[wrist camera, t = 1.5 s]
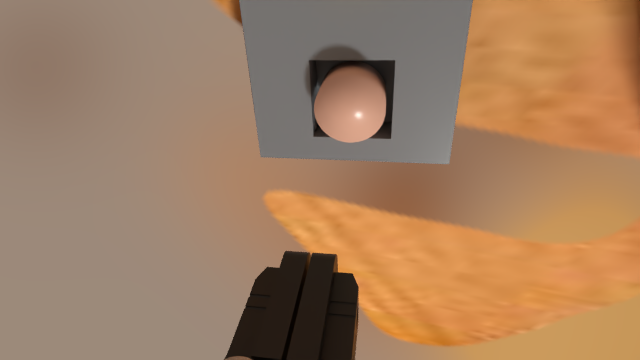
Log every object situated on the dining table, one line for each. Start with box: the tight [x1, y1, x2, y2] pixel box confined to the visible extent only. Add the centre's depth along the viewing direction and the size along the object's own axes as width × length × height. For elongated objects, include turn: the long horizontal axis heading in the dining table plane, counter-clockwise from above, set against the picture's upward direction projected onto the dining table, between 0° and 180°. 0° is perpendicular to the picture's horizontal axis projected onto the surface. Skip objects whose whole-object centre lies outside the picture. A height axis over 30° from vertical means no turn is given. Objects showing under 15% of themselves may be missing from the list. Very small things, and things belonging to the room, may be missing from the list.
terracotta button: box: [314, 61, 386, 143], centre depth 24 cm, size 4×4×3 cm
